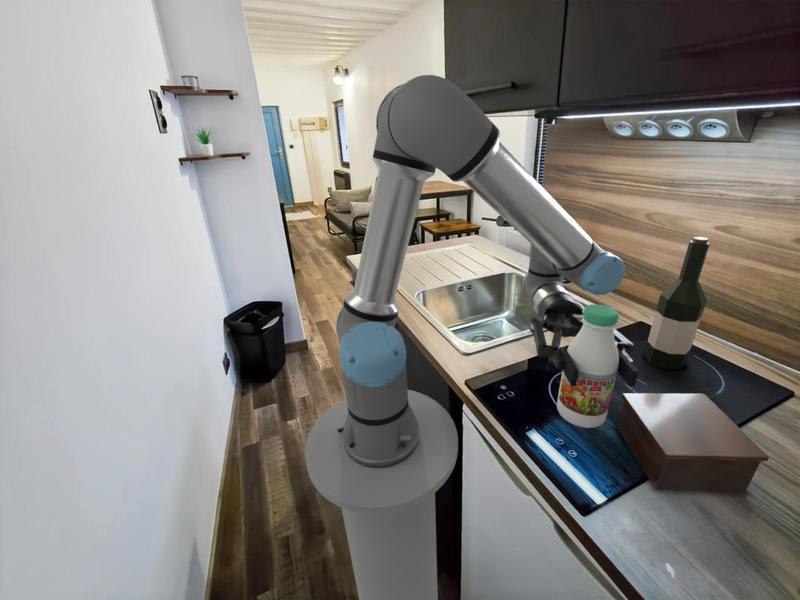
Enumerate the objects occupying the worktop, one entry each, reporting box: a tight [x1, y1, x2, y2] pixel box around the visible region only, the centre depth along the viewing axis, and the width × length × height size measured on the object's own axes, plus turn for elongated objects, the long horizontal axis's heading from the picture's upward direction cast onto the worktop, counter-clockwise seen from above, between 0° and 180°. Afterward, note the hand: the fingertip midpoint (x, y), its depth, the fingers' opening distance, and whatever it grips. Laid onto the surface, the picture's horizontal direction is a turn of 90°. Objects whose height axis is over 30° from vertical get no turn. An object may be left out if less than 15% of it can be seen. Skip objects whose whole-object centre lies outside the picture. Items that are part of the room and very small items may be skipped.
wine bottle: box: [643, 236, 711, 370], centre depth 81 cm, size 8×8×30 cm
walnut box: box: [616, 392, 770, 493], centre depth 61 cm, size 14×14×8 cm
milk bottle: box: [556, 303, 619, 429], centre depth 59 cm, size 8×8×20 cm
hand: (604, 378), depth 54 cm, fingers closed on milk bottle, 8 cm apart
